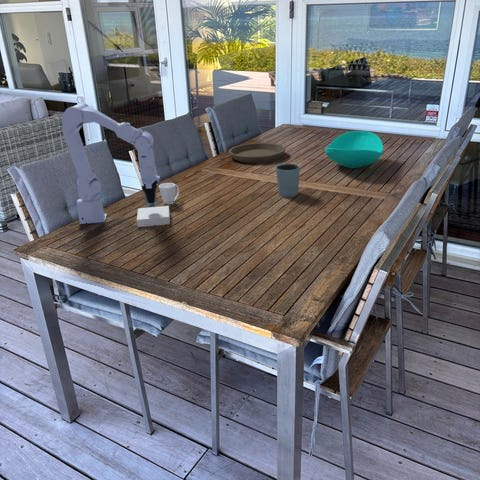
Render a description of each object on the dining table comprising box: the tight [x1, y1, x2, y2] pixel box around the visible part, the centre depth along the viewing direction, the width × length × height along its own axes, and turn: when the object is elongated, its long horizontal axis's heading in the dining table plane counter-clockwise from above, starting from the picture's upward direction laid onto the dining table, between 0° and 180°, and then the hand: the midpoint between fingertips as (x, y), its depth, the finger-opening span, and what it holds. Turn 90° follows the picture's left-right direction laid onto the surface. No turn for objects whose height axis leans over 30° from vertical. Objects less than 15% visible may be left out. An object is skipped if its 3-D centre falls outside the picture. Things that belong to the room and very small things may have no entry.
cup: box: [158, 182, 180, 205], centre depth 201 cm, size 7×10×8 cm
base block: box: [136, 205, 171, 228], centre depth 185 cm, size 12×12×3 cm
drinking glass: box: [275, 163, 301, 198], centre depth 204 cm, size 10×10×12 cm
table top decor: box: [324, 130, 384, 169], centre depth 236 cm, size 40×28×13 cm
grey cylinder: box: [143, 190, 158, 208], centre depth 181 cm, size 4×4×6 cm
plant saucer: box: [228, 142, 286, 164], centre depth 262 cm, size 31×31×5 cm
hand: (151, 200), depth 182 cm, fingers closed on grey cylinder, 4 cm apart
